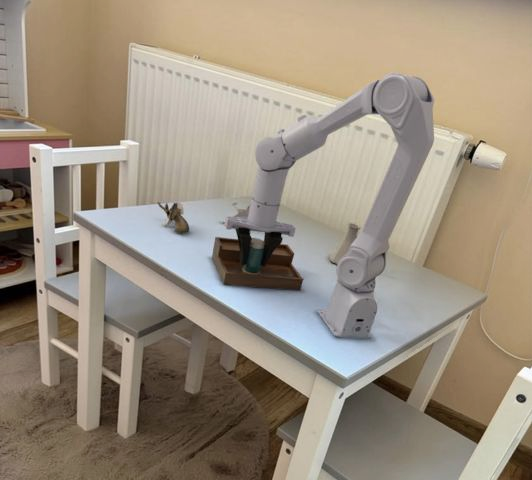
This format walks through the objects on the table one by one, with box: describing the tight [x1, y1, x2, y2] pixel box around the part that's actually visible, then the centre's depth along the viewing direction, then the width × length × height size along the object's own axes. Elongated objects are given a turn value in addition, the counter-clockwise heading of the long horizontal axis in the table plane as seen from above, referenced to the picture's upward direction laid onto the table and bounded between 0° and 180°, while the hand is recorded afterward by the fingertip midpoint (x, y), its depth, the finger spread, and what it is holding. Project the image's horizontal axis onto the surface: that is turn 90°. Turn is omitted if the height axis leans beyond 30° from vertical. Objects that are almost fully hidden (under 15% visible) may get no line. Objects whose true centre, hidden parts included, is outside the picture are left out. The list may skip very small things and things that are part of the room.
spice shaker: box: [242, 237, 265, 273], centre depth 108 cm, size 4×4×6 cm
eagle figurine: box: [157, 201, 190, 235], centre depth 125 cm, size 8×7×9 cm
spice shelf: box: [211, 236, 304, 291], centre depth 112 cm, size 13×17×5 cm
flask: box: [329, 222, 362, 265], centre depth 129 cm, size 7×7×10 cm
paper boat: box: [222, 202, 251, 224], centre depth 138 cm, size 12×6×9 cm
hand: (252, 263), depth 108 cm, fingers closed on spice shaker, 4 cm apart
